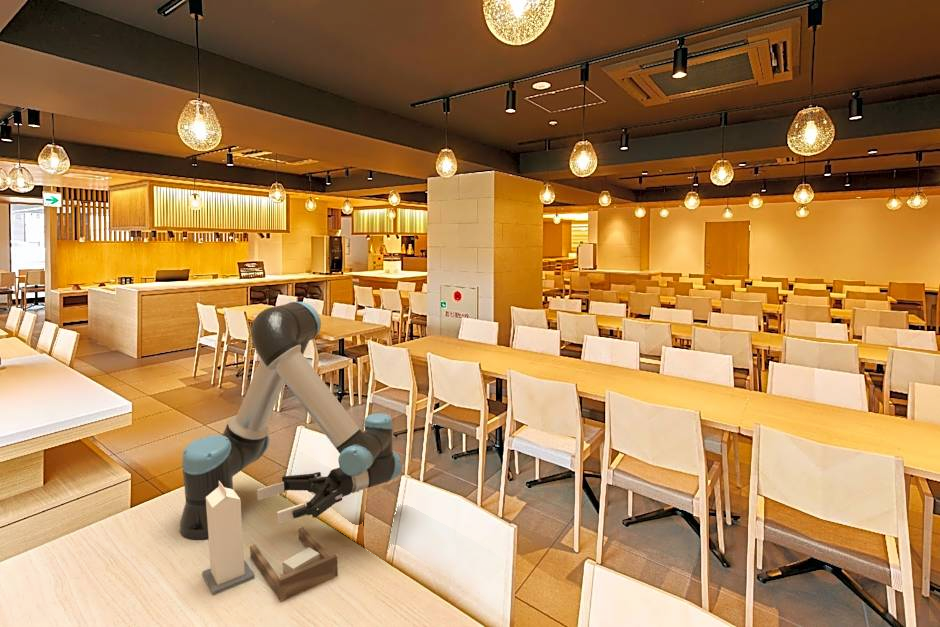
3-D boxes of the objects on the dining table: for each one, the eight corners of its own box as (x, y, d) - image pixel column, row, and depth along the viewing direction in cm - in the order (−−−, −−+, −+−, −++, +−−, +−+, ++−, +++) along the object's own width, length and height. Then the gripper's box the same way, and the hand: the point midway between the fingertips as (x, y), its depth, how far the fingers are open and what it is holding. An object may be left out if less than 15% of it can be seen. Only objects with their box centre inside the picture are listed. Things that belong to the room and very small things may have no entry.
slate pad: (202, 574, 120) (202, 571, 120) (242, 559, 126) (242, 556, 126) (212, 595, 113) (212, 592, 113) (254, 578, 119) (254, 574, 119)
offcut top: (283, 573, 117) (282, 561, 116) (309, 558, 122) (308, 547, 122) (293, 580, 115) (293, 568, 114) (319, 565, 120) (319, 553, 120)
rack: (250, 557, 127) (249, 538, 126) (303, 537, 135) (302, 519, 135) (280, 601, 112) (280, 580, 111) (337, 575, 120) (337, 556, 120)
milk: (217, 585, 115) (210, 494, 112) (210, 572, 120) (203, 484, 116) (245, 574, 119) (239, 486, 116) (238, 561, 124) (232, 476, 120)
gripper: (371, 512, 129) (287, 544, 115) (327, 476, 147) (251, 499, 134) (370, 484, 127) (286, 513, 114) (326, 451, 146) (249, 472, 132)
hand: (267, 506), depth 124 cm, fingers open, 13 cm apart
